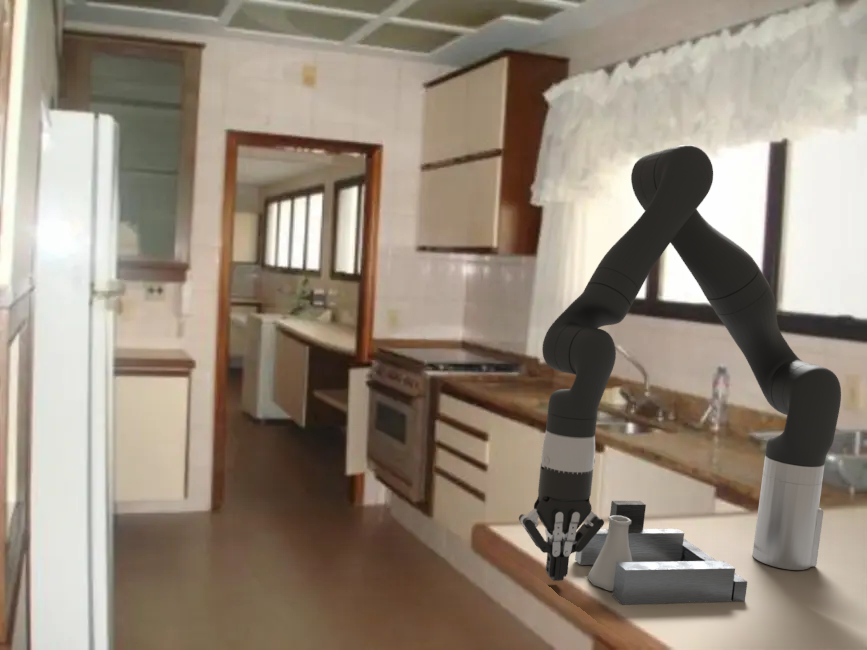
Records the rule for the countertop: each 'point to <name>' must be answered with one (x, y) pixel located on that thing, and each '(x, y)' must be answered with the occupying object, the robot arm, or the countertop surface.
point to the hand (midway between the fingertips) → (555, 578)
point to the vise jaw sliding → (637, 538)
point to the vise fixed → (678, 580)
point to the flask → (611, 553)
